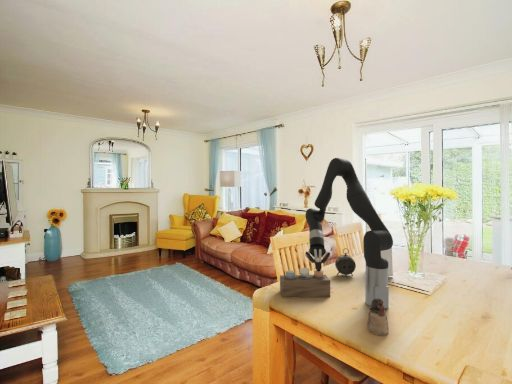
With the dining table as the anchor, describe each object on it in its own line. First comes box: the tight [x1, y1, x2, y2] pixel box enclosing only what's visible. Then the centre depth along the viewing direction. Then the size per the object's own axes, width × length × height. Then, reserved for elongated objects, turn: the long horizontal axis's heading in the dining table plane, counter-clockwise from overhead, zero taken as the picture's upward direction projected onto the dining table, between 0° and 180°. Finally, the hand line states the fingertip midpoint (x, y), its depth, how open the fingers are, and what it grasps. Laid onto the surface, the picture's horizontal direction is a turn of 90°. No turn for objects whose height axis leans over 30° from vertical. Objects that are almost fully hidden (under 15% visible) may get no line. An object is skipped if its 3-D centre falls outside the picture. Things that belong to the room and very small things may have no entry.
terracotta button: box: [313, 269, 324, 278], centre depth 133 cm, size 4×4×2 cm
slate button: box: [285, 270, 296, 279], centre depth 132 cm, size 4×4×2 cm
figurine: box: [366, 298, 389, 336], centre depth 99 cm, size 7×7×12 cm
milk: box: [381, 247, 394, 277], centre depth 161 cm, size 12×12×26 cm
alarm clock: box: [334, 247, 357, 278], centre depth 158 cm, size 11×5×16 cm, turn 84°
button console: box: [279, 274, 331, 298], centre depth 132 cm, size 8×23×8 cm, turn 93°
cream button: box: [299, 267, 310, 276], centre depth 132 cm, size 4×4×2 cm
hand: (318, 270), depth 133 cm, fingers closed
